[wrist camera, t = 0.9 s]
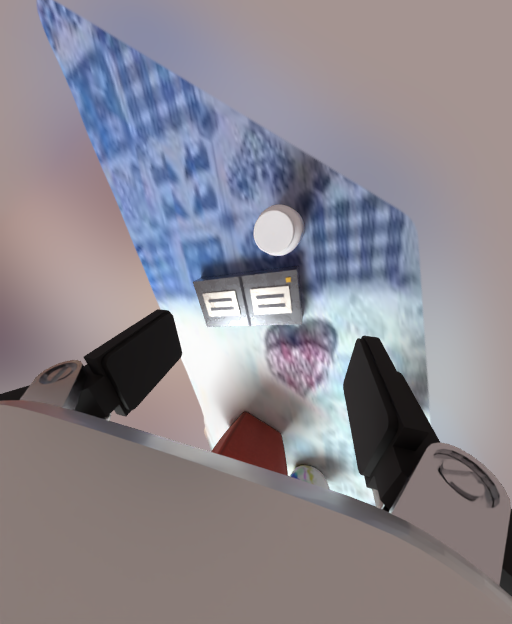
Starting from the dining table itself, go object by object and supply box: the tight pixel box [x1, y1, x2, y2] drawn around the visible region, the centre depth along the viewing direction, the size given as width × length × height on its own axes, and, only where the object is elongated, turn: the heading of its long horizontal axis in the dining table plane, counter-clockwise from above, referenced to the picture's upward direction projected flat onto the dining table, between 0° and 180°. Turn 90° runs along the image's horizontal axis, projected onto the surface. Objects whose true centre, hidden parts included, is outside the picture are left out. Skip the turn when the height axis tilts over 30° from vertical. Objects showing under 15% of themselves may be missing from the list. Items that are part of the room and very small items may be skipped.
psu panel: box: [193, 266, 303, 327], centre depth 36 cm, size 20×10×3 cm, turn 101°
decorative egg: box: [290, 465, 330, 490], centre depth 52 cm, size 12×12×15 cm
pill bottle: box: [254, 205, 304, 256], centre depth 26 cm, size 6×6×11 cm
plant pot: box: [211, 412, 288, 476], centre depth 50 cm, size 19×19×17 cm
